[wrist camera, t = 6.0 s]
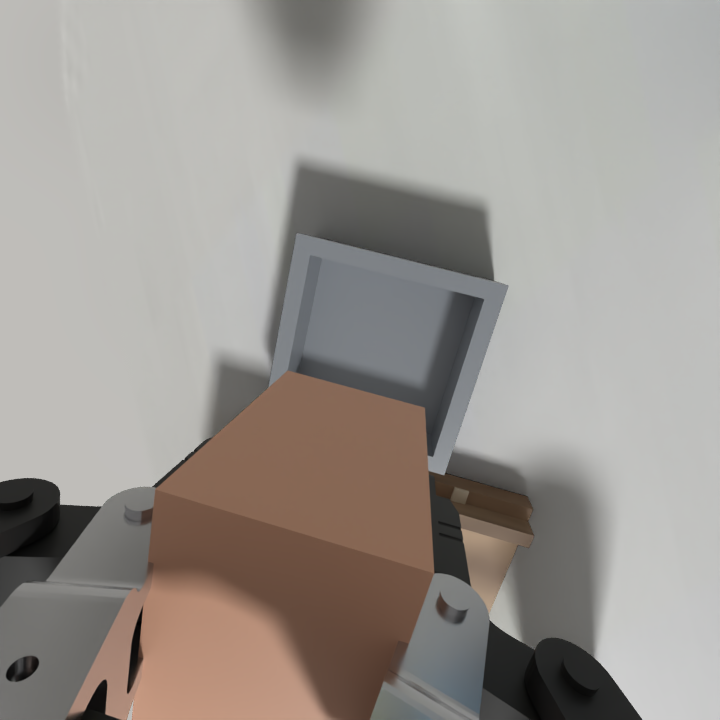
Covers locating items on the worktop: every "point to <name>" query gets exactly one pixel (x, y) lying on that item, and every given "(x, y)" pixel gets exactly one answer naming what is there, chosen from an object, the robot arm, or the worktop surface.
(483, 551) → the guide board
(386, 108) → the worktop surface
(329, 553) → the block
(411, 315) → the tray
